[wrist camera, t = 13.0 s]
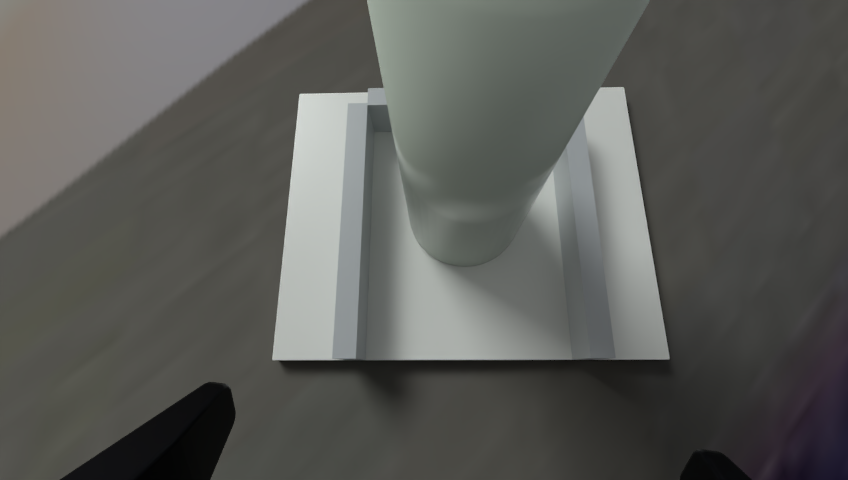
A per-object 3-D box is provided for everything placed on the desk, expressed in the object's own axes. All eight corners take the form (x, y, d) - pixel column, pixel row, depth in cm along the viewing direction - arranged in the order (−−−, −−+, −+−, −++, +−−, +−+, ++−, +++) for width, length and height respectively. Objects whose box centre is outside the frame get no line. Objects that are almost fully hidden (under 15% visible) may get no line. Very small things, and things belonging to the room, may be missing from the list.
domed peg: (522, 266, 17) (730, 12, 5) (408, 267, 17) (337, 22, 5) (515, 163, 18) (663, -234, 6) (409, 164, 18) (355, -219, 6)
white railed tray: (661, 359, 16) (702, 357, 14) (278, 360, 17) (249, 359, 14) (618, 95, 20) (644, 55, 17) (303, 101, 20) (284, 64, 18)
